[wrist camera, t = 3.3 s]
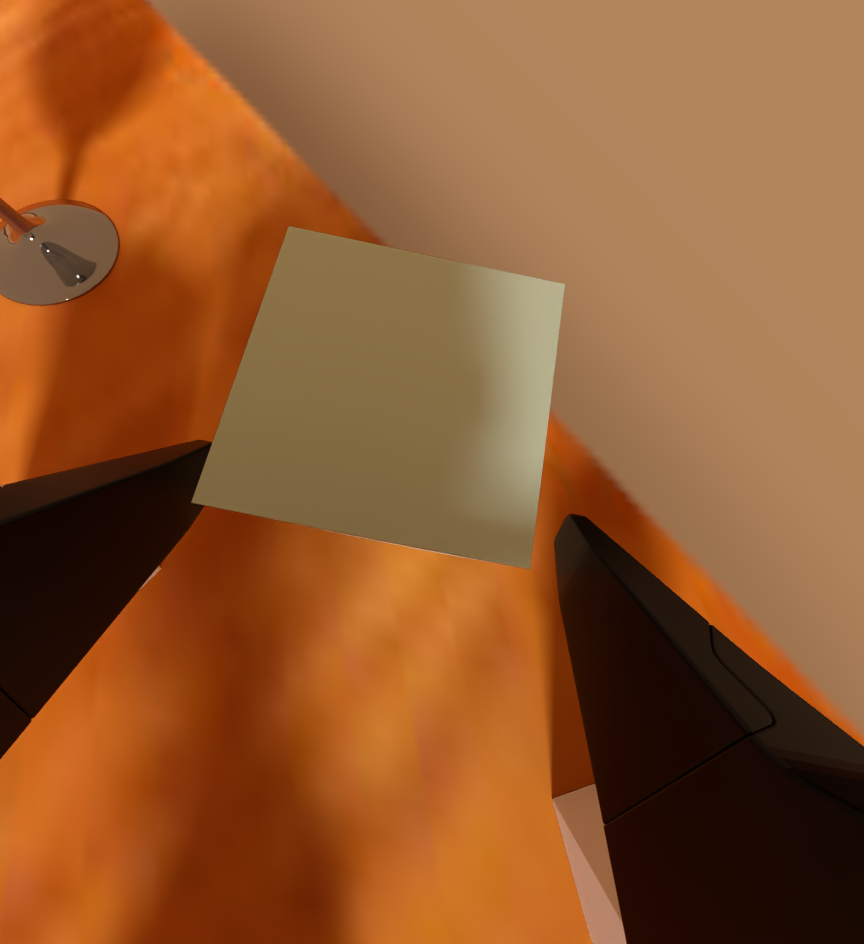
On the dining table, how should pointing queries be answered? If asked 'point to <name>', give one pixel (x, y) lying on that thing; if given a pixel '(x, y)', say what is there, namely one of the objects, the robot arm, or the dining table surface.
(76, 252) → the wine glass
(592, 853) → the pale pink tall block
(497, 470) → the sage block
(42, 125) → the dining table surface
